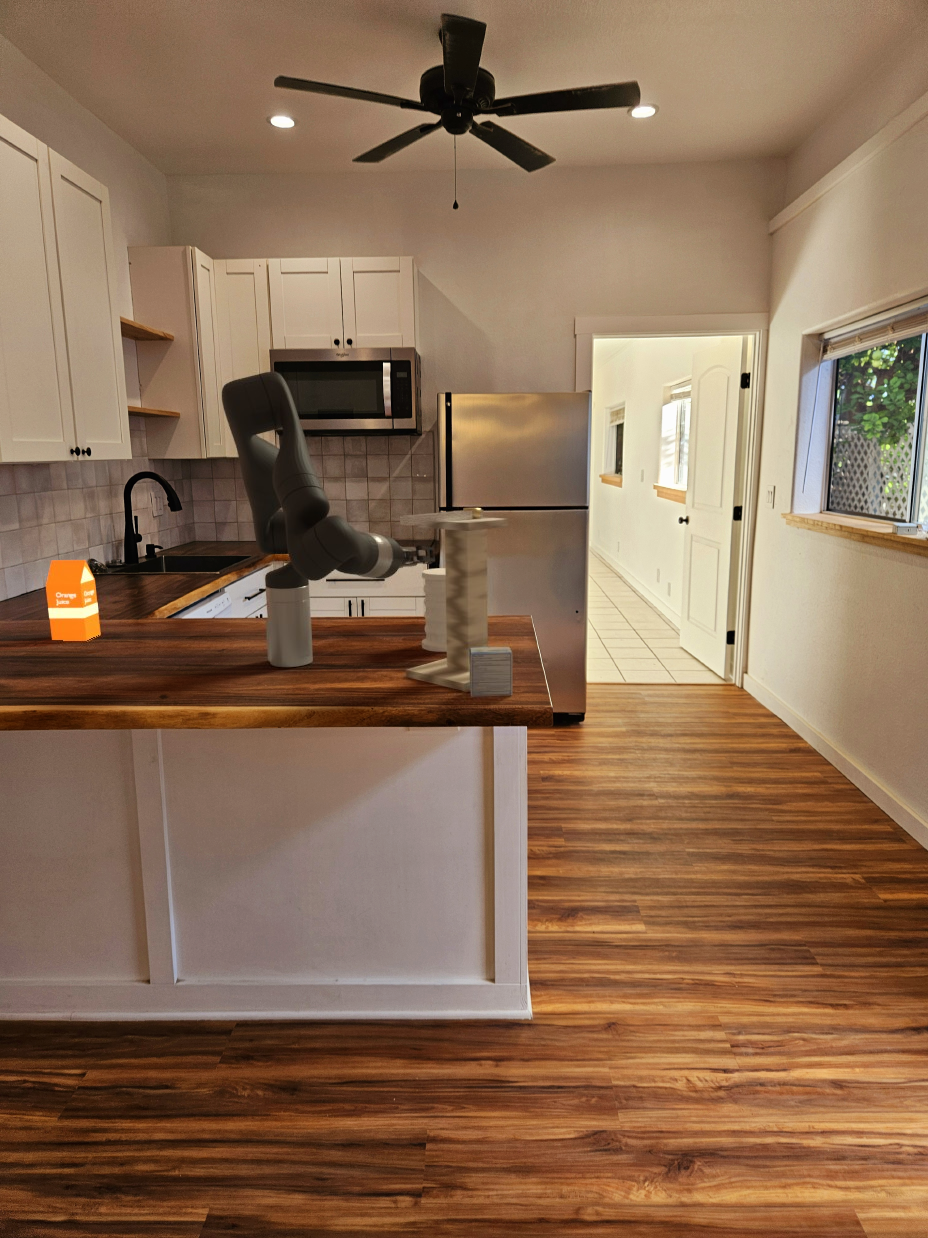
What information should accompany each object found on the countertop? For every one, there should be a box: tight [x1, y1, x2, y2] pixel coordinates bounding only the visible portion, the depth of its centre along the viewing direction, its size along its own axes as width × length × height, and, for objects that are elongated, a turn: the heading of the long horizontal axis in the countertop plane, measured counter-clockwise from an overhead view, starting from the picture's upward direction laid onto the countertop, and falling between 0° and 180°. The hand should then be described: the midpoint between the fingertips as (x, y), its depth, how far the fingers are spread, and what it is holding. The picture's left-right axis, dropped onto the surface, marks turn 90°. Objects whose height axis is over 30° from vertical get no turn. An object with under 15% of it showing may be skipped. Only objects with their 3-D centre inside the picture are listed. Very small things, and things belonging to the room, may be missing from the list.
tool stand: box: [405, 516, 510, 692], centre depth 162 cm, size 16×15×32 cm
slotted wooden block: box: [399, 507, 484, 526], centre depth 155 cm, size 4×21×2 cm, turn 138°
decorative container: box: [421, 567, 447, 653], centre depth 189 cm, size 12×12×18 cm
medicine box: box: [469, 646, 513, 698], centre depth 152 cm, size 8×4×9 cm, turn 94°
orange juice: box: [45, 559, 101, 642], centre depth 202 cm, size 8×9×20 cm
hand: (408, 561), depth 151 cm, fingers open, 8 cm apart
